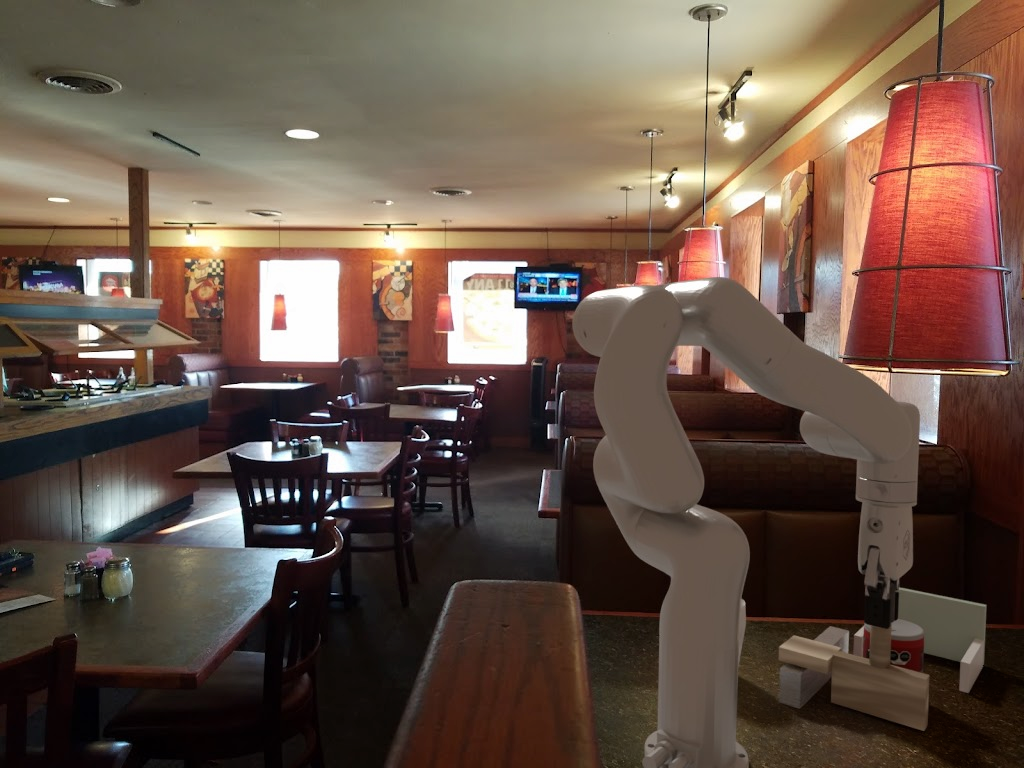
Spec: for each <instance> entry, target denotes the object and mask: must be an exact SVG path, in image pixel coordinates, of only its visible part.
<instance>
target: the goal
mask: <svg viewBox="0 0 1024 768" xmlns="http://www.w3.org/2000/svg"><path fill="white" fill-rule="evenodd" d="M895 592H899V609H898V619H901V620H905V621H909V622H911V623H914V624H916V625H918V626H920V627H921V628H922V629H923V630H924V654H925V655H926V654H928V655H931V656H936V657H938V658H939V657H940V658H943V659H947V660H950V661H954V662H959V663H960V664H959V665H960V667H959V687H958V688H959V689H958V691H959V692H963V693H966V694H969V693H970V691H971V689H972V688H973V685H974V684H975V682H976V680H977V679H978V677H979V675H980V673H981V671H982V669H983V667H984V666H985V646H986V625H987V622H986V621H987V606H988V605H987V604H984V603H979V602H974V601H969V600H964V599H959V598H954V597H950V596H949V597H948V596H945V595H944V596H943V595H938V594H934V593H929V592H923V591H919V590H914V589H909V588H905V587H900V586H899V590H898V591H895ZM863 634H864V625H862V627H861V628H860V629H859V630H858V631H857V632H856V633H855V634H854V635H853V650H852V651H853V654H852V655H856V656H860V657H863ZM983 665H984V666H983Z"/></svg>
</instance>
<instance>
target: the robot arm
mask: <svg viewBox="0 0 1024 768" xmlns="http://www.w3.org/2000/svg"><path fill="white" fill-rule="evenodd" d="M571 325H572V332H573V335H574V338H575V340H576V342H577V343H578V344H579V346H580V347H581V348H582V349H583V350H584V351H586V353H588V354H589V355H592V356H594V357H598V358H600V359H599V363H598V366H597V369H596V374H595V380H594V384H593V385H594V387H593V400H594V401H593V402H594V406H595V411H596V414H597V417H598V420H599V422H600V425H601V426H602V429H603V432H604V434H605V435H604V436H603V437H602V439H601V440H600V441H599V443H598V445H597V446H596V449H595V451H594V454H593V455H594V456H593V462H592V463H593V464H592V465H593V466H592V467H593V468H592V469H593V475H594V480H595V482H596V485H597V487H598V490H599V492H600V494H601V496H602V498H603V501H604V502H605V504H606V505H607V509H608V510H609V511H610V514H611V516H612V517H613V519H614V521H615V523H616V525H617V527H618V529H619V530H620V532H621V534H622V536H623V538H624V540H625V542H626V543H627V545H628V546H629V548H630V550H631V551H632V552H633V553H634V555H636V556H637V557H638V558H639V559H640V561H641V560H642V561H643V562H645V564H648V565H650V566H651V567H654V569H655V568H656V569H657V570H659V571H661V572H663V573H664V574H666V575H667V576H669V577H670V585H669V588H668V591H667V593H666V595H665V597H664V599H663V601H662V605H661V609H660V613H659V629H658V634H659V637H658V638H659V641H658V642H659V643H658V645H659V648H658V649H659V650H658V687H657V688H658V690H657V693H658V696H657V730H655V731H654V732H652V733H651V734H649V735H648V736H647V738H646V739H645V743H644V757H643V758H642V759H641V760H642V761H641V763H642V767H643V768H749V764H750V763H749V762H750V758H749V755H748V753H747V751H746V749H745V748H744V747H743V745H742V744H740V743H739V742H738V741H737V721H738V719H737V718H738V714H737V713H738V712H737V711H738V690H739V689H738V685H739V684H738V682H739V681H738V680H739V666H738V654H739V618H740V605H741V598H742V595H743V592H744V586H745V582H746V578H747V574H748V570H749V566H750V565H749V564H750V556H751V555H750V554H751V551H750V545H749V541H748V538H747V535H746V534H745V532H744V530H743V529H742V527H740V525H739V524H738V523H737V522H736V521H734V520H733V519H732V518H731V517H729V516H727V515H726V514H723V513H721V512H719V511H717V510H715V509H711V508H709V507H706V506H702V505H701V504H698V503H699V502H700V500H701V498H702V496H703V493H704V489H705V476H704V471H703V468H702V465H701V462H700V460H699V458H698V456H697V454H696V452H695V450H694V447H693V446H692V444H691V442H690V440H689V438H688V435H687V433H686V432H685V430H684V427H683V425H682V423H681V421H680V419H679V417H678V415H677V413H676V411H675V408H674V406H673V403H672V401H671V400H672V399H671V398H670V395H669V392H668V386H667V378H668V376H667V375H668V370H669V365H670V362H671V359H672V357H673V354H674V352H675V349H676V347H679V346H681V347H702V348H704V349H705V350H707V352H709V353H710V354H711V355H712V356H713V357H715V358H716V359H717V360H718V361H719V362H721V363H722V365H724V366H725V367H727V369H728V370H730V371H731V372H732V373H733V374H734V375H735V376H736V377H737V378H739V379H740V380H741V381H742V382H743V383H744V384H745V385H746V386H748V387H749V388H750V389H751V390H752V391H753V392H755V393H756V394H758V395H759V396H763V397H765V398H766V399H769V400H771V401H774V402H775V403H779V404H781V405H783V406H784V405H785V406H787V407H791V408H794V409H797V410H801V411H803V414H802V416H801V418H800V422H799V431H800V435H801V438H802V439H803V441H804V442H805V443H806V445H807V446H809V448H811V449H813V450H814V451H816V452H818V453H821V454H825V455H829V456H835V457H839V458H845V459H853V460H856V482H855V483H856V486H855V500H856V501H858V502H859V503H860V502H861V503H862V504H861V512H860V523H859V534H858V550H857V553H858V554H857V565H858V571H859V572H860V574H862V575H865V576H864V581H863V582H864V584H863V585H864V588H865V590H864V591H865V592H864V595H865V596H864V617H863V618H864V619H863V621H864V624H868V625H872V626H876V627H880V628H884V629H888V628H889V627H890V623H891V599H889V588H890V582H892V583H894V584H895V585H896V588H895V591H898V590H899V587H900V578H902V576H904V575H905V574H906V573H907V572H908V571H909V570H911V568H912V567H913V565H914V564H913V563H914V541H913V540H914V535H913V533H914V530H913V529H914V523H913V522H914V521H913V508H912V507H915V506H916V505H918V502H917V501H918V481H919V480H918V478H919V477H918V476H919V475H918V474H919V473H918V472H919V455H920V454H919V451H920V429H921V427H920V425H921V413H920V409H919V408H918V407H917V406H916V405H915V404H913V403H911V402H906V401H897V400H896V399H895V398H893V397H892V396H891V395H890V394H889V393H888V392H887V391H886V390H885V389H884V388H883V387H882V386H881V385H880V384H878V383H877V382H876V381H875V380H873V379H872V378H870V377H869V376H867V375H865V374H864V373H862V372H860V371H859V370H857V369H855V368H853V367H852V366H849V365H847V364H845V363H843V362H842V361H839V360H838V359H836V358H834V357H833V356H831V355H829V354H827V353H825V352H823V351H820V350H819V349H816V348H815V347H813V346H811V345H808V344H806V343H805V342H804V341H802V340H801V339H800V338H799V337H798V336H797V335H796V334H794V332H793V331H791V330H790V329H789V328H788V327H787V326H786V325H785V324H784V323H783V322H782V321H781V320H780V319H779V318H778V317H777V316H776V315H774V314H773V312H772V311H770V310H769V309H768V307H766V306H765V305H764V304H763V303H762V302H761V301H760V300H759V299H758V298H756V296H754V295H753V294H752V292H750V290H748V289H747V288H746V287H745V286H744V285H742V284H741V283H739V282H738V281H736V280H734V279H732V278H729V277H724V276H716V277H715V276H713V277H705V278H703V277H702V278H697V279H696V278H695V279H689V280H688V279H687V280H682V281H675V282H669V283H663V284H657V285H653V284H652V285H651V284H649V285H648V284H640V285H628V286H623V287H618V288H610V289H602V290H597V291H595V292H593V293H590V294H588V295H587V296H585V297H583V299H582V300H581V301H580V302H579V304H578V305H577V306H576V309H575V311H574V314H573V316H572V324H571ZM878 580H880V581H884V582H883V585H882V583H879V582H878ZM742 599H743V598H742ZM898 609H899V592H895V614H894V621H896V620H897V619H898Z"/></svg>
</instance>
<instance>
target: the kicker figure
mask: <svg viewBox="0 0 1024 768" xmlns="http://www.w3.org/2000/svg"><path fill="white" fill-rule="evenodd" d="M878 582H879V583H882V585H883V582H884V581H880V580H878ZM895 588H896V585H895V584H894V583H892V582H890V588H889V599H891V623H890V627H889V628H888V629H884V628H880V627H876V626H872V625H871V628H870V656H869V659H867V658H863V657H860V656H856V655H853V654H852V653H849V652H848V653H845V652H841V647H837V646H833V645H829V644H825V643H821V642H818V641H814V639H809V638H806V637H801V636H798V635H794V634H793V635H792V636H791V637H789V638H788V639H787V640H786V641H784V642H783V643H782V644H781V645H780V646H778V661H780V662H784V663H785V664H786V663H790V664H793V665H797V666H800V667H804V668H807V669H811V670H814V671H818V672H821V673H825V674H828V673H829V672H830V671H831V670H832V677H831V690H830V692H831V693H830V703H832V704H834V705H838V706H842V707H845V708H849V709H850V710H855V711H858V712H861V713H864V714H868V715H870V716H872V717H873V716H874V717H877V718H881V719H883V720H887V721H890V722H893V723H896V724H900V725H902V726H906V727H910V728H912V729H916V730H920V731H923V732H925V730H926V729H927V727H928V721H929V720H928V719H929V699H930V698H929V694H930V674H927V673H924V672H923V673H920V672H916V671H912V670H909V669H905V668H901V667H897V666H894V665H890V654H891V628H892V622H894V614H895Z"/></svg>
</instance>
